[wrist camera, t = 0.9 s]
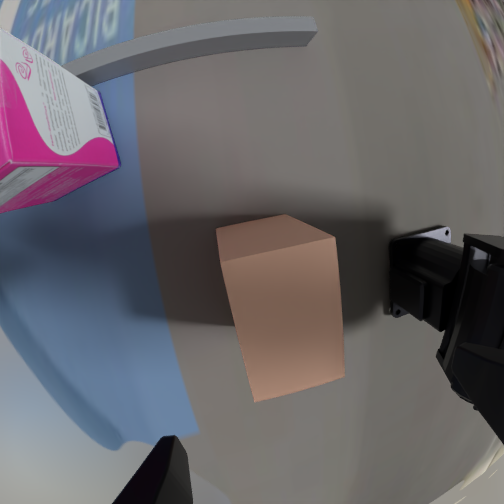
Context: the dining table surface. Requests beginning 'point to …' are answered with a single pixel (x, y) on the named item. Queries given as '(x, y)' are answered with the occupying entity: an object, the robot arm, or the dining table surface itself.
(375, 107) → the dining table surface
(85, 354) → the dining table surface
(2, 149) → the supplement box
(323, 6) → the dining table surface
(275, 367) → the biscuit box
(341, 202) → the dining table surface
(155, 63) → the curved grey bar
